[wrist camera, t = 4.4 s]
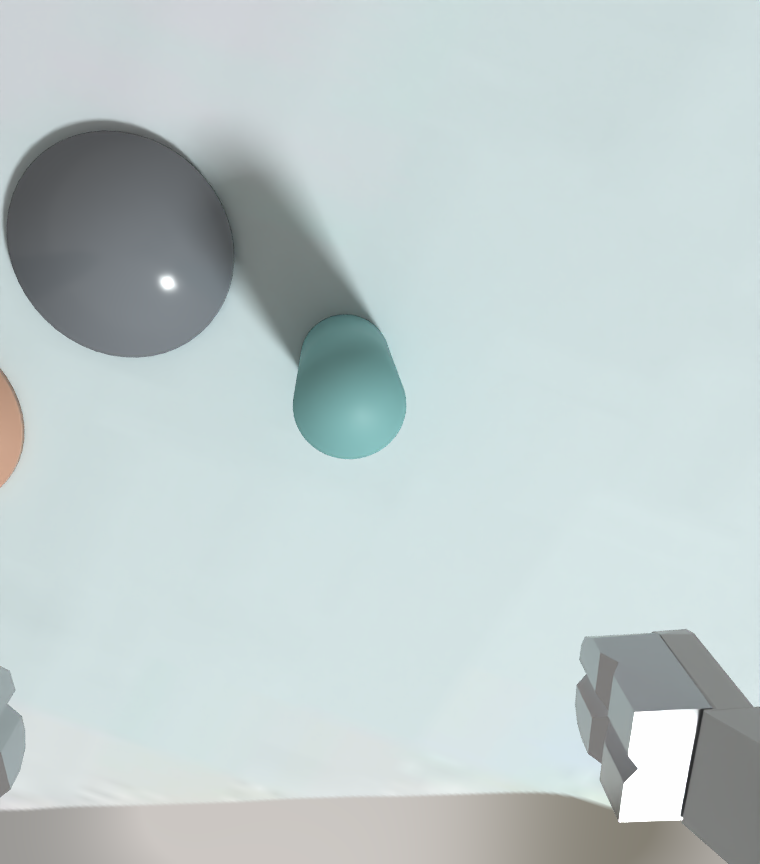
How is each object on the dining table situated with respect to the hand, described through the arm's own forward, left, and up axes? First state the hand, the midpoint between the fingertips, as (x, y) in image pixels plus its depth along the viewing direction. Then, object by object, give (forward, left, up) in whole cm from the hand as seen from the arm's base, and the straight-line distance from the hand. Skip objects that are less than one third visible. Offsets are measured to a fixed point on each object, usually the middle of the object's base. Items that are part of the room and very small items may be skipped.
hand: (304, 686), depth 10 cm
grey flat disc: (+8, -4, -22) cm, 24 cm away
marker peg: (-1, +1, -22) cm, 22 cm away
